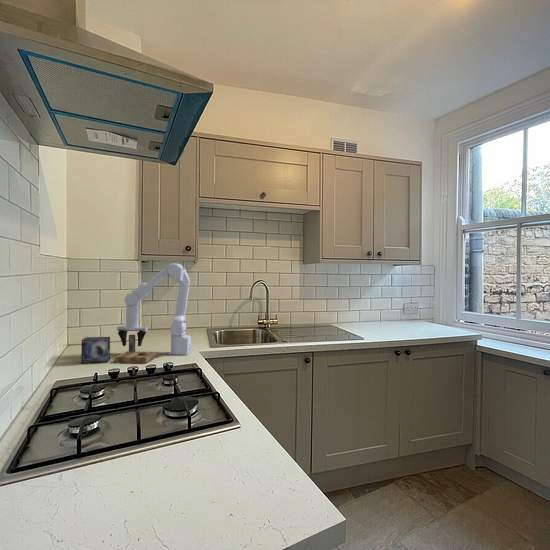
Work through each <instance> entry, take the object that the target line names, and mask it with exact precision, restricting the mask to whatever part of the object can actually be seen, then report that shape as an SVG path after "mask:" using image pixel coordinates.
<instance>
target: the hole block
mask: <svg viewBox="0 0 550 550" xmlns="http://www.w3.org/2000/svg"><path fill="white" fill-rule="evenodd" d="M157 354H158V353H157V351H137V350H135V351H129V350H128V351H125V352H123V353H121V354H118V355H117V356H115V357H114V363H117V364H120V363H121V364H148V363H149V362H152V361H154V360H155V359H156V358H157V357H158V355H157ZM154 358H155V359H154Z"/></svg>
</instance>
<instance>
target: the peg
mask: <svg viewBox="0 0 550 550" xmlns="http://www.w3.org/2000/svg"><path fill="white" fill-rule="evenodd" d="M136 336H137V334H133V333H132V334H129V335H128V351H136V341H137V340H136Z"/></svg>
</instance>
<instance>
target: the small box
mask: <svg viewBox="0 0 550 550" xmlns="http://www.w3.org/2000/svg"><path fill="white" fill-rule="evenodd" d="M80 355H81V359H80V360H81V361H80V362H81V363H80V364H81V365H84V364H88V363H91V364H105V363H106V364H108V363H109V361H110V360H111V336H90V337H88V336H86V337H84V338H83V339H81V354H80Z"/></svg>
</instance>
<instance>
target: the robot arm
mask: <svg viewBox="0 0 550 550" xmlns="http://www.w3.org/2000/svg"><path fill="white" fill-rule="evenodd" d="M171 277H172V278H174V279H175V281H177V282H178V283H179V285H178V292H177V299H176V306H175V314H174V317H173V321H172V324H171V326H170V327H169V332H170V351H169V352H168V353H167V355H172V354H173V356H174V355H175V356H176V355H181V356H187V355H188V354H189V355H190V353H191V352H192V336H191V335H187V333H186V330H187V325H188V324H187V322H186V321H187V320H186V319H187V317H186V313H187V307H188V306H187V305H188V299H189V292H190V284H191V278H190V276H189V275H188V272H187V270H186V268H185V267H184V265H182V264H181V263H175V262H172V263H170V264H169V265H167V266H165V267H164V268H163V269H161V270H160V271H159V272H158V273H156V275H154V277H152V278H151V279H150V280H149V281H148V282H141V283H139V284H138V286H137V287H136V288H135V289H133V290H131V292H129V293H126V295H125V296H124V304H125V306H126V307H125V308H126V309H125V326H124V325H123V326H120V325H119V326H116V332H117V335H118V336H119V338H120V341H121V344H122V347H125V346H127V337H128V336H127V335H128V332H136V336H137V347H138V348H139V347H141V346H142V345H143V341H144V338H145V336H146V333H147V332H148V330H149V329H148V328H149V327H148V326H139V323H140V322H139V320H140V319H139V318H140V317H139V315H140V314H139V313H140V312H139V311H140V309H139V305H140V302H141V301H142V300H143V299H145V298H146V297H147V296H148V295H149V294H150V293H152V292H153V291H152V290H153V288H154V287H155V286H157V284H159V283H160V282H161V281H163V280H164V279H165V278H171Z"/></svg>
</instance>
